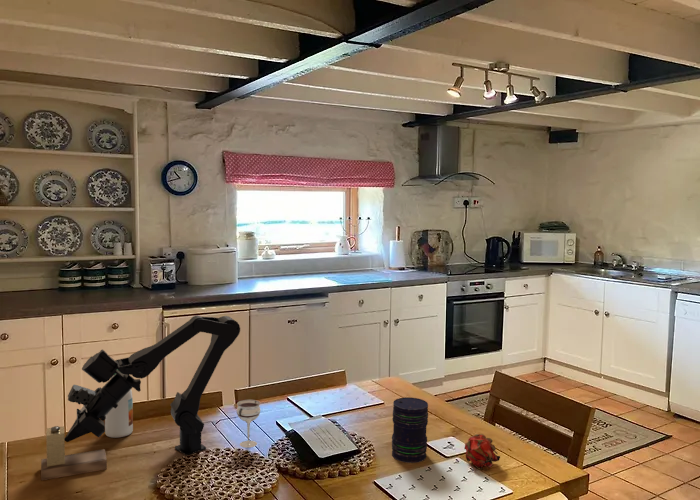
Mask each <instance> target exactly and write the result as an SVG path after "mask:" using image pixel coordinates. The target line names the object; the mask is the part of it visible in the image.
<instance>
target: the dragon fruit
mask: <svg viewBox="0 0 700 500" xmlns="http://www.w3.org/2000/svg"><path fill="white" fill-rule="evenodd" d="M492 443H493V439H492V437H491V438H490V437H487V436H486V435H485V434H484V433H479V434H478V433H477V434H473V435H472V436H470V437H469V438H468V439H467V442H465V444H464V450H465V459H466V461H467V462H471V463H472V465H473V466H474V467H475V468H476V469H479V470H483V471H484V468H483V467H487V468H491V467H492V466H493V465H494V463H496V462H499V461H500V459H501V456H500V455H499V454H498V452H497V451H496V448H497V447H495V445H494V444H492ZM493 462H494V463H493Z"/></svg>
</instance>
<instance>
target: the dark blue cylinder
mask: <svg viewBox="0 0 700 500" xmlns="http://www.w3.org/2000/svg"><path fill="white" fill-rule="evenodd" d="M392 405H393V406H392V407H393V409H392V423H393V429H392V430H393V431H392V436H391V449H392V451H391V456H392V458H394V459H395V460H396V461H399V462H402V463H407V464H414V463H420V462H423V461H424V460H426V459H427V449H428V436H427V426H428V423H429V419H428V418H429V403H428V401H426V400H424V399H421V398H418V397H405V396H404V397H399V398H396V399H394V400H393V403H392Z"/></svg>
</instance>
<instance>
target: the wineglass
mask: <svg viewBox="0 0 700 500" xmlns="http://www.w3.org/2000/svg"><path fill="white" fill-rule="evenodd" d="M236 405H237V408H236V415H237V417H238V419H240V420H242V421H243V422H245V423H246V427H247V428H246V429H247V430H246V431H247V440H243V441H241V442H240V443H239V446H240V447H241V448H245V449H247V448H254V447H256V446H257V445H258V442H257V441H255V440H250V433H251V432H250V431H251V430H250V427H251V423H252V422H253V421H255V420H257V419H258V418H259V416H260V413H261V407H260V405H261V401H260V400H256V399H244V400H243V399H242V400H240V401H238V402H237V403H236Z"/></svg>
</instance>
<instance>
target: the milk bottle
mask: <svg viewBox="0 0 700 500" xmlns="http://www.w3.org/2000/svg"><path fill="white" fill-rule="evenodd" d="M117 370H118V369H117ZM119 372H120V371H119ZM115 374H116V373H115ZM115 374H114V375H115ZM114 375H113V376H114ZM113 376H112V377H113ZM133 401H134V400H133V391H132V389H131V390H130V391H129V392H128V393H127V394H126V395H125V396H124V397H123V398H122V399H121V400H120V401H119V402H118V406H117V407H116V408H114V407H113V408H112V409H111V410H110V412H109V413H108V414H107V415H106V419H105V420H104V425H105V432H104V433H105V435H106V436H107V437H109V438H112V439H113V438H114V439H115V438H116V439H117V438H124V437H126V436H129V435H131V434H132V433H133V430H134V409H133V408H134V406H133V405H134V404H133V403H134V402H133Z"/></svg>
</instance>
